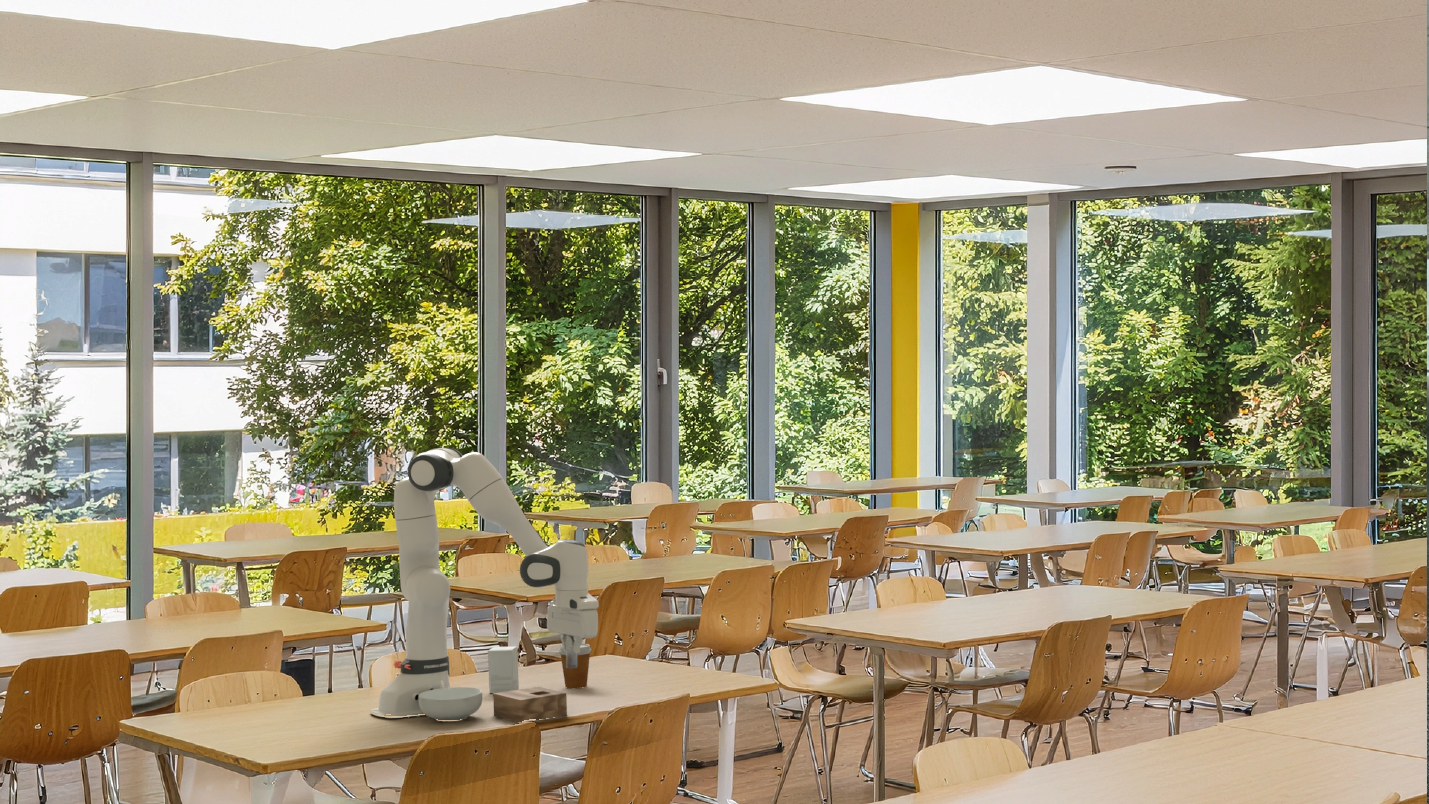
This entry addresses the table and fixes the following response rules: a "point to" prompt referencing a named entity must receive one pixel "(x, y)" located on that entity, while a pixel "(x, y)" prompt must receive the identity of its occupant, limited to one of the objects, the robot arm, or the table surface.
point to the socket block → (530, 704)
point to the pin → (570, 653)
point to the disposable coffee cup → (579, 674)
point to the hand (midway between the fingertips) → (571, 651)
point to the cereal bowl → (450, 702)
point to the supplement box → (503, 669)
